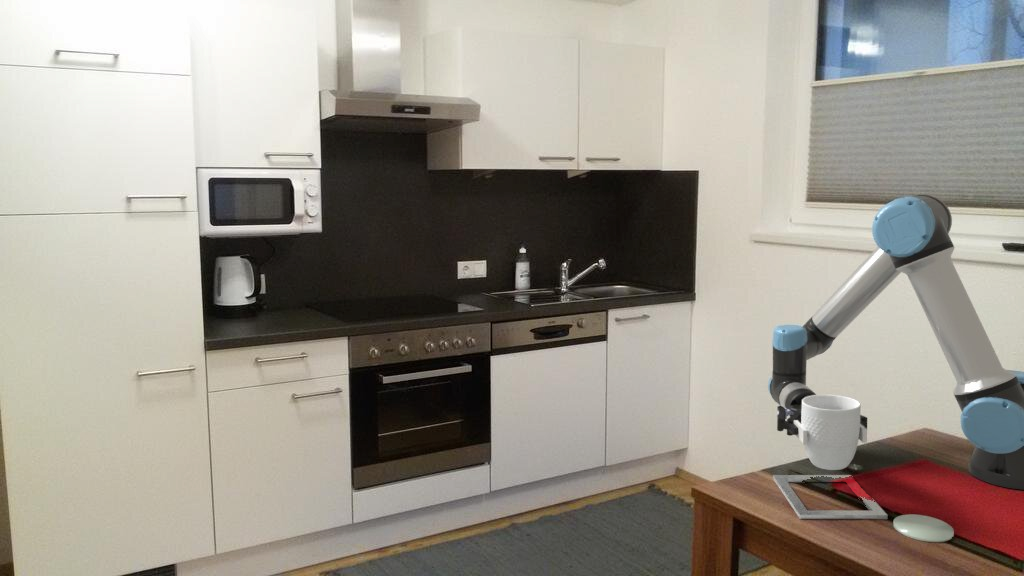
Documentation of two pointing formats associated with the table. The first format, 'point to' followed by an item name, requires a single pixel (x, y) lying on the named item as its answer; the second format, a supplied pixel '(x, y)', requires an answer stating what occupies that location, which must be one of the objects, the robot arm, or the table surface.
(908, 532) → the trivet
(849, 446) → the mug
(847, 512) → the grey rectangular frame
